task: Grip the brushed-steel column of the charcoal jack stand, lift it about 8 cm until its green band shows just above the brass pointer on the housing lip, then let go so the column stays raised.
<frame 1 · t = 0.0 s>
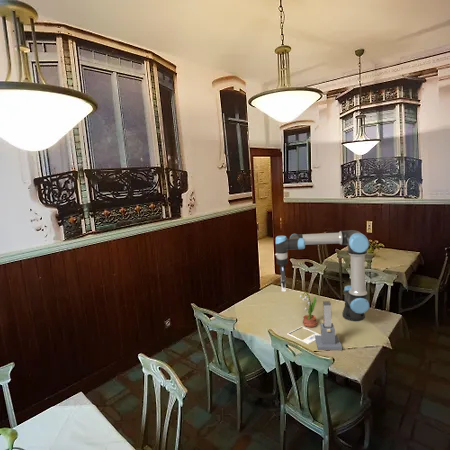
hand: (283, 287, 223), 28 cm above the table, fingers open, 13 cm apart
photo frame: (304, 336, 212), on the table
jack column: (327, 321, 197), point 15 cm above the table, slide at 0.0 cm
potted flower: (308, 325, 225), on the table
jack stand: (328, 344, 199), on the table
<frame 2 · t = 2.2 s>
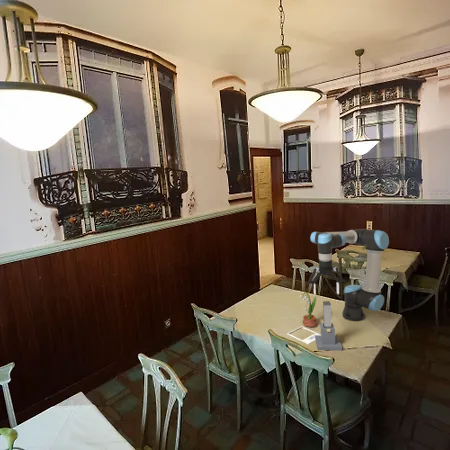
hand: (326, 293, 194), 33 cm above the table, fingers open, 13 cm apart
nothing on the table moved.
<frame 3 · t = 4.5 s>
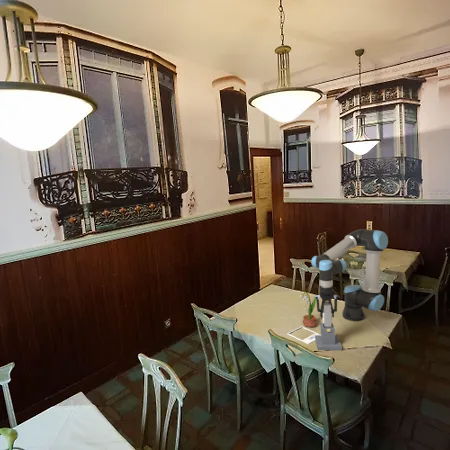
hand: (327, 322, 197), 15 cm above the table, fingers closed on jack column, 4 cm apart
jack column: (327, 321, 197), point 15 cm above the table, slide at 0.0 cm, touching gripper
everything else where it was.
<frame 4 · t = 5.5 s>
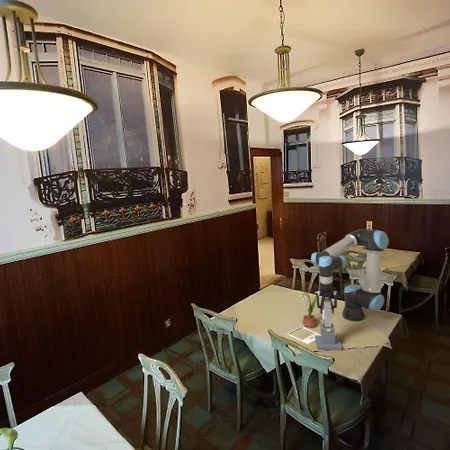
hand: (327, 318, 197), 17 cm above the table, fingers closed on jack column, 4 cm apart
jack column: (327, 318, 197), point 17 cm above the table, slide at 2.4 cm, touching gripper
everything else where it was.
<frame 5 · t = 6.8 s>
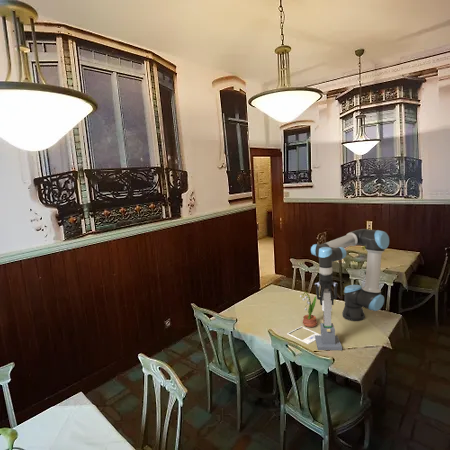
hand: (327, 309, 196), 23 cm above the table, fingers closed on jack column, 4 cm apart
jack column: (326, 309, 196), point 23 cm above the table, slide at 7.9 cm, touching gripper
everything else where it was.
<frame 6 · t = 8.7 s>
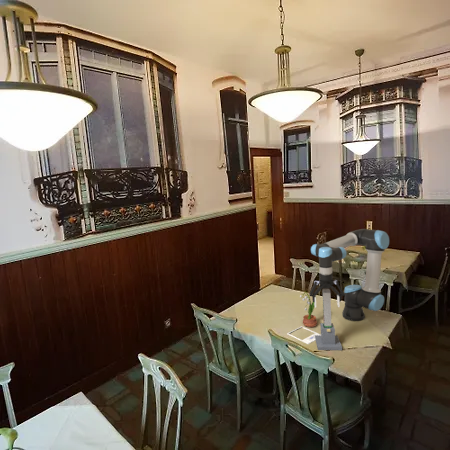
hand: (326, 306, 195), 25 cm above the table, fingers open, 13 cm apart
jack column: (326, 309, 196), point 23 cm above the table, slide at 8.0 cm
everything else where it was.
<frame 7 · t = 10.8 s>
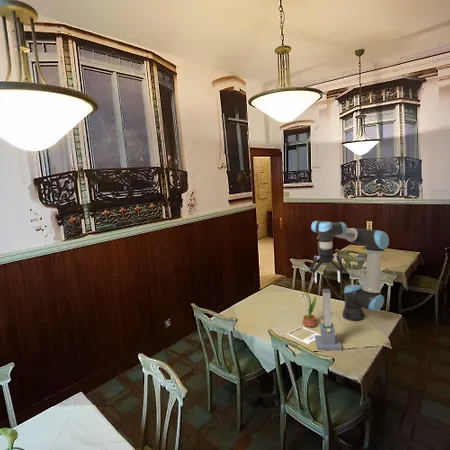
hand: (327, 281, 194), 40 cm above the table, fingers open, 13 cm apart
nothing on the table moved.
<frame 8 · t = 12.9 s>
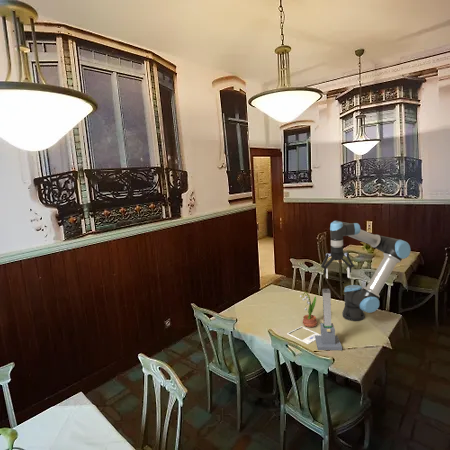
hand: (337, 277, 209), 37 cm above the table, fingers open, 13 cm apart
nothing on the table moved.
at the end: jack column slide at 8.0 cm; the gripper is holding nothing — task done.
